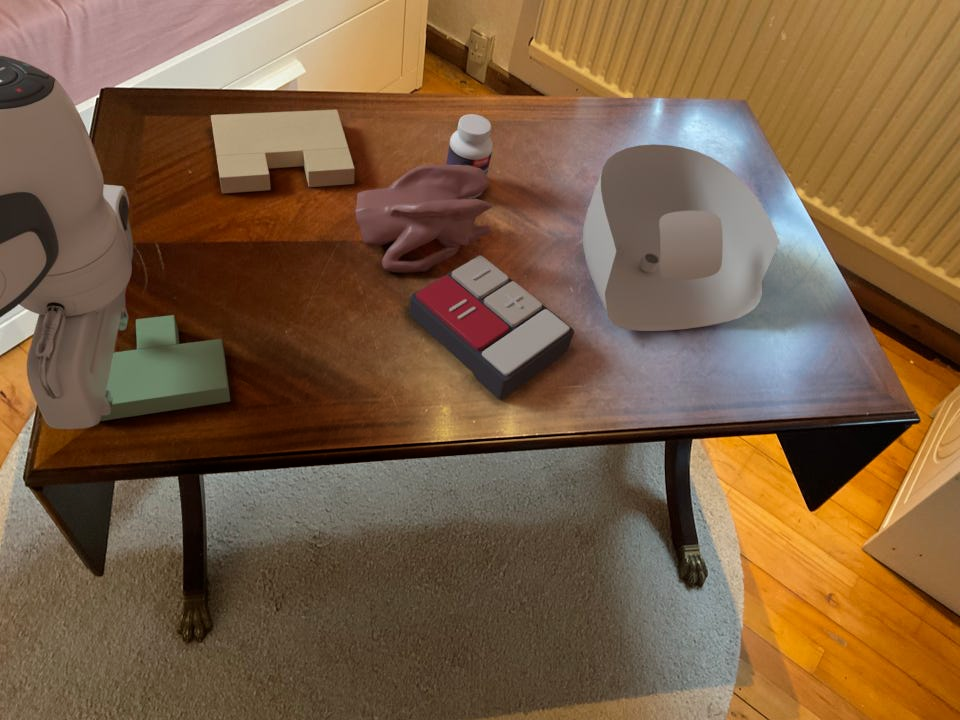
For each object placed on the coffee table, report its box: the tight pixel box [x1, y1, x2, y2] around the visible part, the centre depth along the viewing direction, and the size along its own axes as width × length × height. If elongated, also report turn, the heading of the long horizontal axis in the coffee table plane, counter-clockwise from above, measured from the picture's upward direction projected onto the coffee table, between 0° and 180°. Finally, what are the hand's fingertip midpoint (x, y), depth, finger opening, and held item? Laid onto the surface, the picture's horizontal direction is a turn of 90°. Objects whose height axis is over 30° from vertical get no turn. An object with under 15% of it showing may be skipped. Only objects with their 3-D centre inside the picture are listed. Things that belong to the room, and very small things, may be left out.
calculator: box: [408, 255, 575, 401], centre depth 81 cm, size 11×4×15 cm
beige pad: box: [210, 109, 356, 194], centre depth 94 cm, size 16×12×2 cm
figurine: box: [354, 163, 494, 274], centre depth 87 cm, size 12×10×15 cm
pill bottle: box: [445, 113, 494, 199], centre depth 93 cm, size 5×5×10 cm
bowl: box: [582, 143, 780, 332], centre depth 88 cm, size 20×19×12 cm
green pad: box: [100, 314, 231, 422], centre depth 72 cm, size 12×10×2 cm
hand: (110, 365), depth 68 cm, fingers open, 8 cm apart
